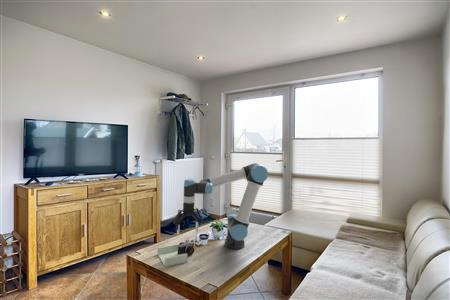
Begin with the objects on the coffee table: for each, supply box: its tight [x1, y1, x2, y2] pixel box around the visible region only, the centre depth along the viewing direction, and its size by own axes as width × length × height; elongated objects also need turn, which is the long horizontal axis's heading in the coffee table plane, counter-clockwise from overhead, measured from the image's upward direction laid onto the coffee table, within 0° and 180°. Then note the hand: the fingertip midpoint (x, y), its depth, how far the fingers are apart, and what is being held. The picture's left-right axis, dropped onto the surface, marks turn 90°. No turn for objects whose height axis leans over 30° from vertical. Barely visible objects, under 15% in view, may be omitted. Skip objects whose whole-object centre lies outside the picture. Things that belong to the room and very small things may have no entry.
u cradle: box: [157, 243, 188, 268], centre depth 157 cm, size 14×18×5 cm
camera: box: [178, 239, 195, 256], centre depth 165 cm, size 13×8×9 cm, turn 139°
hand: (187, 232), depth 165 cm, fingers open, 13 cm apart
